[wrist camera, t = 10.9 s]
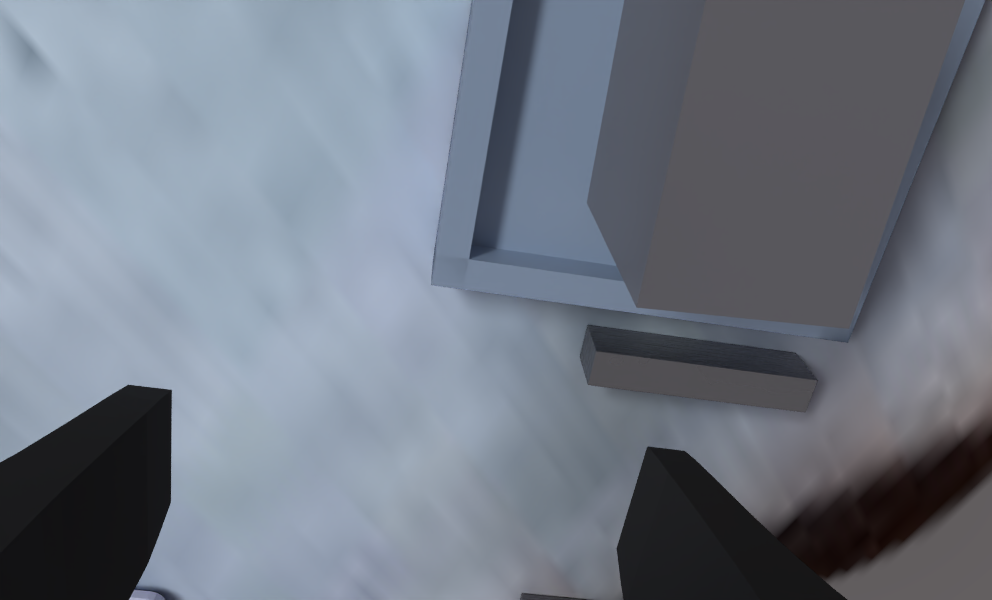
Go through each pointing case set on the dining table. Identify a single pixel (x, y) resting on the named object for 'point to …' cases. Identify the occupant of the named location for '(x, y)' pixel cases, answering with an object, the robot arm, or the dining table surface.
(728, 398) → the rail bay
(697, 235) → the grey bar
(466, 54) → the tray
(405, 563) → the dining table surface
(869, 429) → the dining table surface
